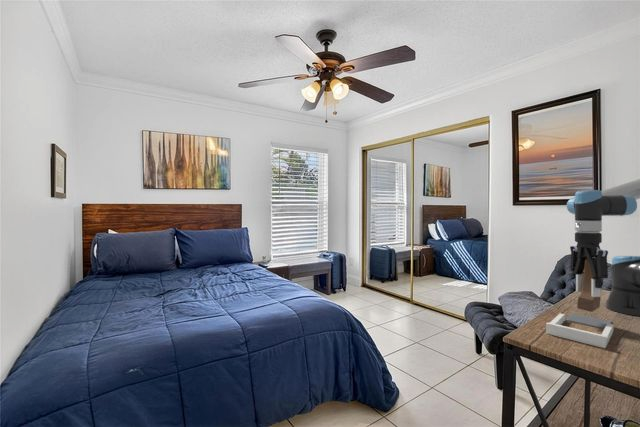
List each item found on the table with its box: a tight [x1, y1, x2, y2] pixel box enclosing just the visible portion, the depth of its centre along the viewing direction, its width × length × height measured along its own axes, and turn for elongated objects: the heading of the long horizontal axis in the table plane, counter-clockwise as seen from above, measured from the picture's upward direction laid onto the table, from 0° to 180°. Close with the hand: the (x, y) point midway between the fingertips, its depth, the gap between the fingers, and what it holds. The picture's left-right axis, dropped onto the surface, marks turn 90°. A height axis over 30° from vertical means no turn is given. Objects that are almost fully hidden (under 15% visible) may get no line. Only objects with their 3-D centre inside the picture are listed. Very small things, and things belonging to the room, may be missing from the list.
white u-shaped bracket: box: [545, 312, 615, 349], centre depth 106 cm, size 20×15×4 cm
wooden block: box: [576, 259, 602, 313], centre depth 113 cm, size 9×4×18 cm, turn 125°
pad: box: [564, 312, 613, 330], centre depth 116 cm, size 11×12×1 cm
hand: (588, 293), depth 114 cm, fingers closed on wooden block, 6 cm apart
